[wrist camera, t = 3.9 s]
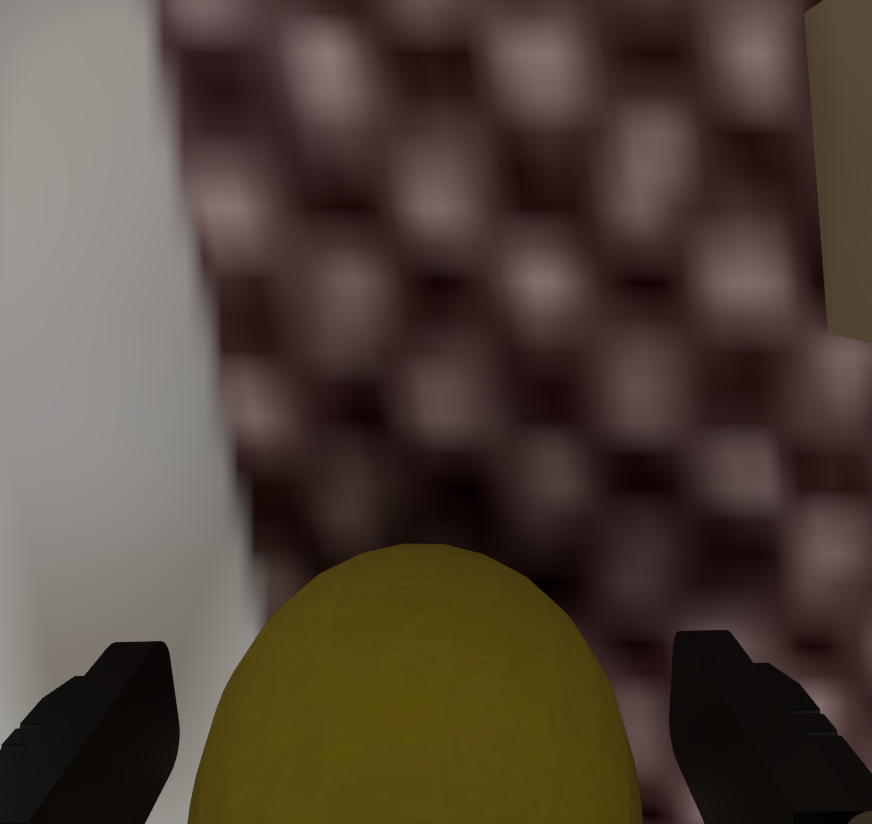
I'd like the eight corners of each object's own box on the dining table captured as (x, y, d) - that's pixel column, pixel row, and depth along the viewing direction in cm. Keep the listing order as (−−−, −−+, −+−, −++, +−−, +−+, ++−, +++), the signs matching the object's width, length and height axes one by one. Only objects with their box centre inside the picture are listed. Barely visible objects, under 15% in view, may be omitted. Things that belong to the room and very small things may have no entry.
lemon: (276, 728, 14) (59, 1368, 6) (283, 462, 12) (13, 837, 5) (555, 748, 14) (701, 1407, 6) (591, 485, 12) (840, 893, 5)
